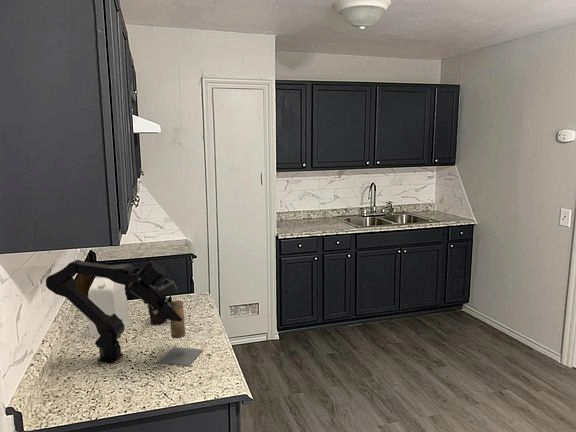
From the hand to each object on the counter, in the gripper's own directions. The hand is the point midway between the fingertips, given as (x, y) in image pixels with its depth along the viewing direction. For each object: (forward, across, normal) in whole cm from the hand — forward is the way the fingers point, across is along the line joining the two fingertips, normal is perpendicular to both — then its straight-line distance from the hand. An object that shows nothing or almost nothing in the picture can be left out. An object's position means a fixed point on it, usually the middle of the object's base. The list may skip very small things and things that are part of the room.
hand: (180, 317), depth 164 cm
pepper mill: (+4, 0, +6) cm, 7 cm away
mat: (+9, -2, +10) cm, 14 cm away
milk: (-10, +32, +29) cm, 44 cm away
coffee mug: (+5, +33, +15) cm, 37 cm away
